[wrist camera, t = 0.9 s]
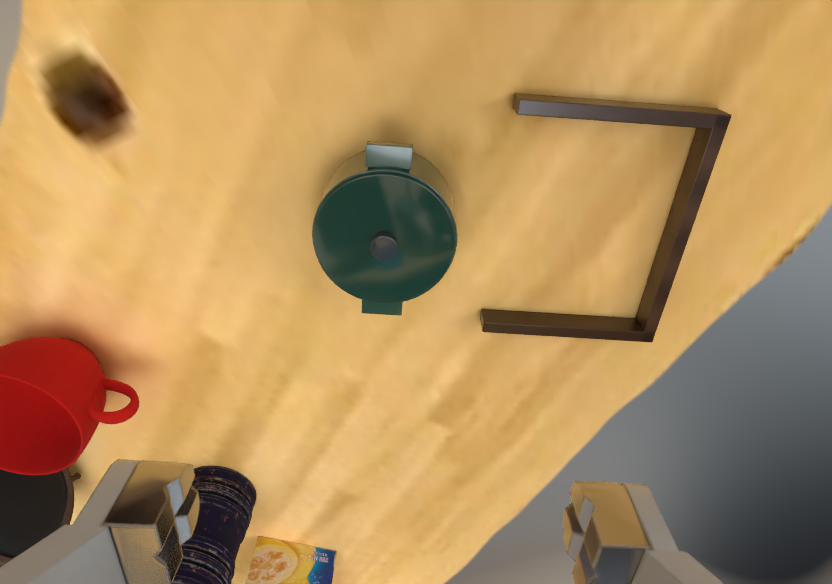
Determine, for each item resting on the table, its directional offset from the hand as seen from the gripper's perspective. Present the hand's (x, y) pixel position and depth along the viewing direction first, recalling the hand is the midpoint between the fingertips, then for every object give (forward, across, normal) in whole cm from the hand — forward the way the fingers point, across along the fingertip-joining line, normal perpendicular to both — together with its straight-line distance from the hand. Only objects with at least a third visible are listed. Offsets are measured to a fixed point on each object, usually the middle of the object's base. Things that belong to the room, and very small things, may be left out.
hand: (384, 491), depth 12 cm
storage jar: (+41, +22, +49) cm, 67 cm away
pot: (+40, +1, +9) cm, 41 cm away
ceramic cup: (+41, +34, +29) cm, 60 cm away
